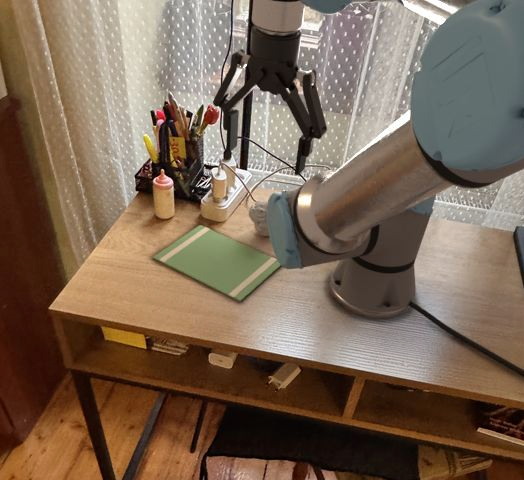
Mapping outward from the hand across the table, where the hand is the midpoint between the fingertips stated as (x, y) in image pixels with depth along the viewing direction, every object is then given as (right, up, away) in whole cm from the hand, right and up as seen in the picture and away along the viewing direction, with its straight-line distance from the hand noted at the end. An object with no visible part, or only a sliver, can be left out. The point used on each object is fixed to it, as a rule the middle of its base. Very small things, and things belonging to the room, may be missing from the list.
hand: (265, 159), depth 96 cm
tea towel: (-9, -17, +6) cm, 20 cm away
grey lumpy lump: (0, -11, +13) cm, 17 cm away
